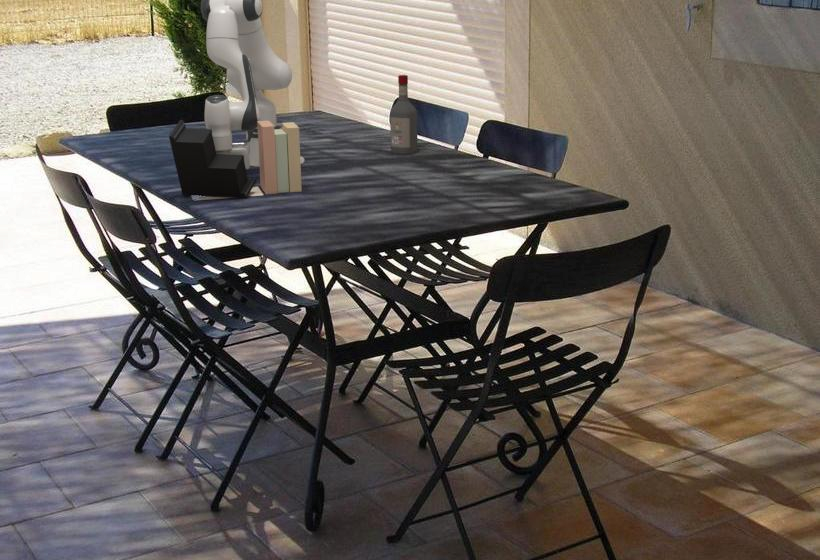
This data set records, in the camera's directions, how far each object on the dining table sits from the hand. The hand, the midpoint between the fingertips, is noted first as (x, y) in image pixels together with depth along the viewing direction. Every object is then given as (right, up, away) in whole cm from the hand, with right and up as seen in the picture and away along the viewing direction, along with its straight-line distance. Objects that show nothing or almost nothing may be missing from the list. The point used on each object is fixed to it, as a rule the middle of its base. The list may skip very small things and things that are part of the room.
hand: (221, 183), depth 419 cm
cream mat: (+2, -4, -5) cm, 6 cm away
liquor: (+63, +17, +59) cm, 88 cm away
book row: (+20, -2, 0) cm, 21 cm away
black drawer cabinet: (0, -2, -6) cm, 6 cm away
